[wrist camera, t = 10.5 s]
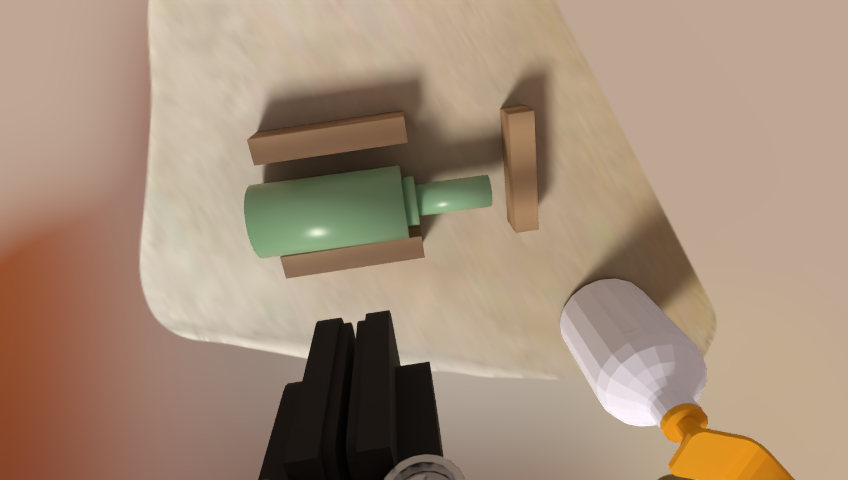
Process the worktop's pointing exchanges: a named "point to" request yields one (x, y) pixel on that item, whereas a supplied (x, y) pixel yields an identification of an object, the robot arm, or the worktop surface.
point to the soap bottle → (655, 380)
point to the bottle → (350, 209)
